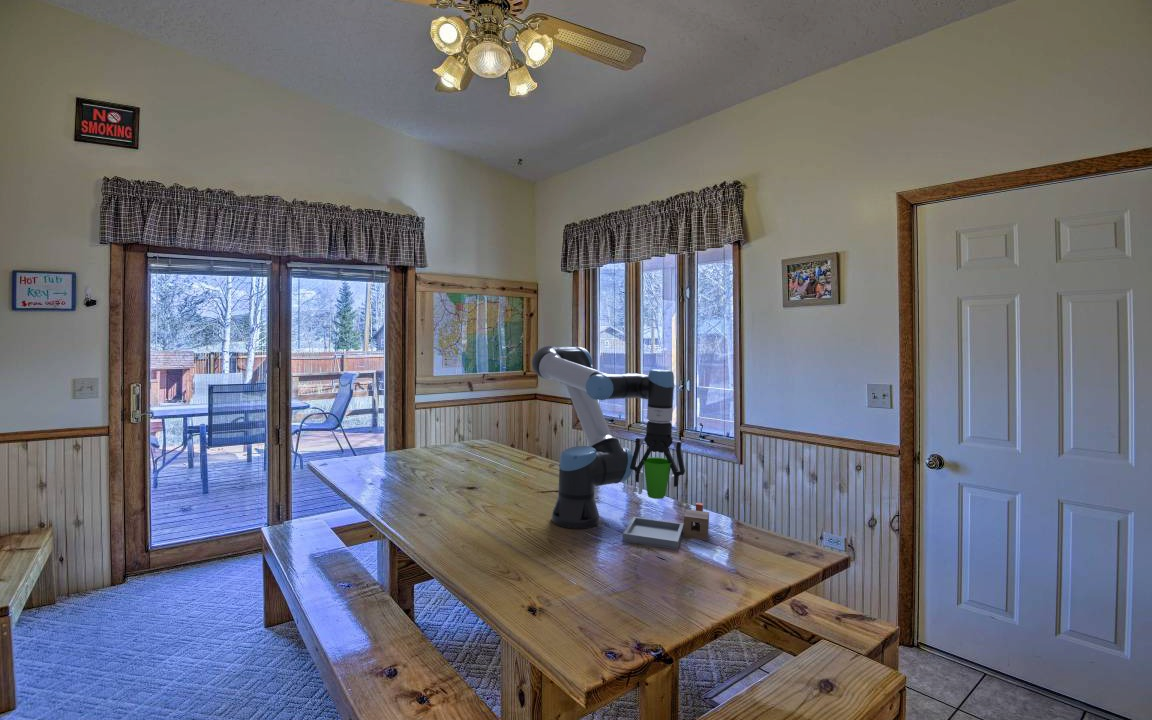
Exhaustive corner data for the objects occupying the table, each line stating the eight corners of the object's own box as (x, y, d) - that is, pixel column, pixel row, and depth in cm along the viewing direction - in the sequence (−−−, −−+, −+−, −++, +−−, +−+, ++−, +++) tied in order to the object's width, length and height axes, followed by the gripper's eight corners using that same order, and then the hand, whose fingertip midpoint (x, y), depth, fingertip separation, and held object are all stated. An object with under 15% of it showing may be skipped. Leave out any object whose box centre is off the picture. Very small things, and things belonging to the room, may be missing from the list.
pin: (695, 517, 179) (696, 502, 179) (702, 518, 178) (703, 503, 178) (693, 528, 169) (693, 511, 169) (700, 529, 169) (701, 512, 168)
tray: (622, 541, 160) (623, 533, 160) (633, 523, 175) (633, 516, 175) (677, 549, 155) (678, 541, 155) (683, 530, 170) (683, 523, 170)
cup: (670, 502, 159) (672, 465, 158) (639, 499, 161) (641, 462, 160) (671, 493, 168) (673, 458, 167) (642, 491, 170) (643, 456, 169)
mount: (685, 529, 172) (686, 509, 171) (708, 532, 169) (709, 512, 169) (683, 536, 165) (684, 516, 165) (706, 540, 163) (707, 519, 162)
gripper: (621, 419, 163) (618, 493, 164) (695, 426, 156) (691, 502, 157) (626, 416, 170) (623, 487, 171) (697, 422, 164) (693, 495, 165)
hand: (656, 494), depth 164 cm, fingers closed on cup, 9 cm apart
